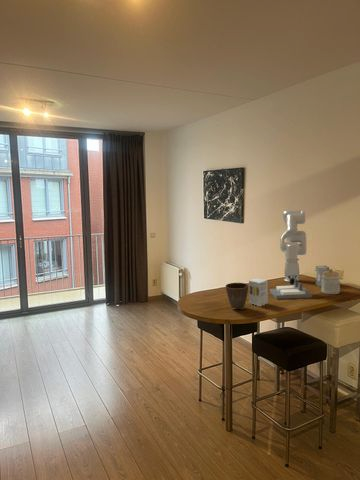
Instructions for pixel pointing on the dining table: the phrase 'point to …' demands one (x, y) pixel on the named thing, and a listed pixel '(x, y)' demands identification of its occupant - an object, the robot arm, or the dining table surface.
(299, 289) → the breaker handle
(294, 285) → the breaker handle
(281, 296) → the breaker panel
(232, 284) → the plant pot
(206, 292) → the dining table surface
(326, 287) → the jar
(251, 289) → the supplement box
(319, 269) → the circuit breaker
